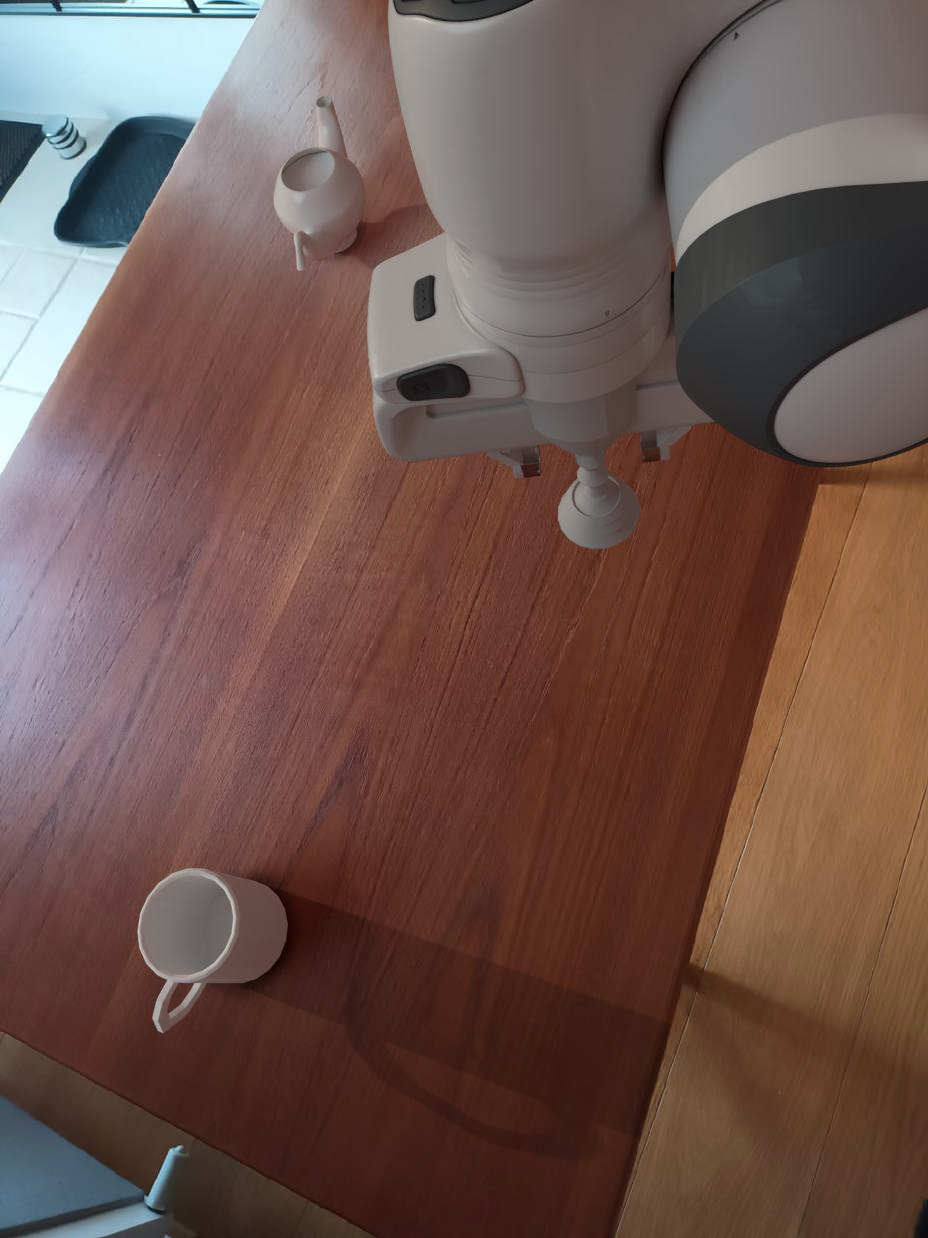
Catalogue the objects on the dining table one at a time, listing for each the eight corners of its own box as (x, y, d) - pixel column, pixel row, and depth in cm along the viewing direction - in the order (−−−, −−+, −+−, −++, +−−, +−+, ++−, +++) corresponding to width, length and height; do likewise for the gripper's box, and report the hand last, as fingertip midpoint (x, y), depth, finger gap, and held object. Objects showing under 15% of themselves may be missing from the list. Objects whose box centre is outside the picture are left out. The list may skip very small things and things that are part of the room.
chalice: (530, 554, 59) (476, 387, 42) (551, 458, 61) (507, 263, 44) (649, 569, 57) (641, 401, 40) (666, 469, 59) (665, 270, 43)
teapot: (279, 312, 102) (243, 251, 94) (312, 167, 109) (282, 98, 100) (364, 310, 100) (335, 247, 91) (392, 162, 106) (368, 90, 98)
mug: (161, 1008, 78) (94, 1012, 69) (221, 867, 82) (165, 853, 72) (244, 1048, 76) (186, 1056, 67) (303, 900, 79) (255, 890, 70)
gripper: (808, 192, 40) (775, 384, 52) (338, 273, 43) (413, 434, 56) (834, 315, 37) (793, 485, 50) (336, 390, 41) (415, 530, 54)
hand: (590, 458), depth 53 cm, fingers closed on chalice, 5 cm apart
